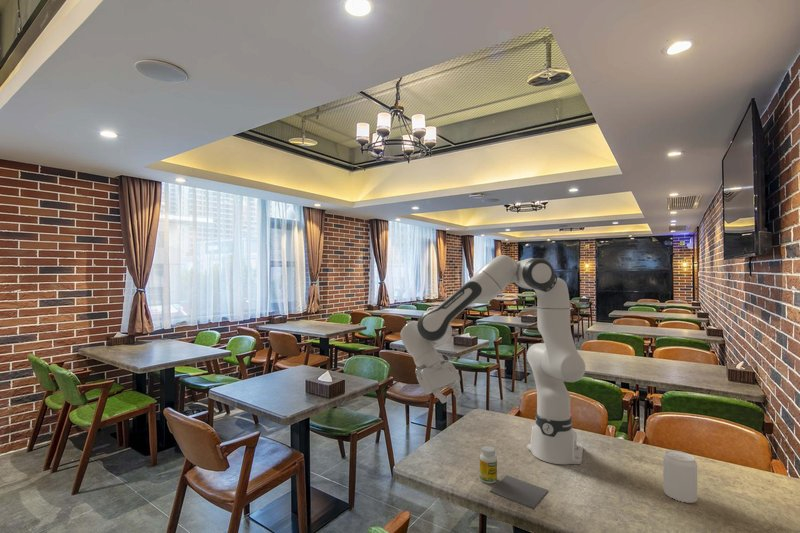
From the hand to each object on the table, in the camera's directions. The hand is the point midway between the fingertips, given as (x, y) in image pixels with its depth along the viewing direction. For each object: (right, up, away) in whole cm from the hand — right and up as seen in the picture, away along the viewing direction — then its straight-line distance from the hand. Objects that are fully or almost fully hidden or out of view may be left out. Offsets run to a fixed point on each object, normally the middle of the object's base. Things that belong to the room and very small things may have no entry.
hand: (452, 399), depth 129 cm
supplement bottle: (+10, -23, -8) cm, 26 cm away
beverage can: (+65, -24, -15) cm, 71 cm away
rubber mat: (+18, -22, -14) cm, 32 cm away
